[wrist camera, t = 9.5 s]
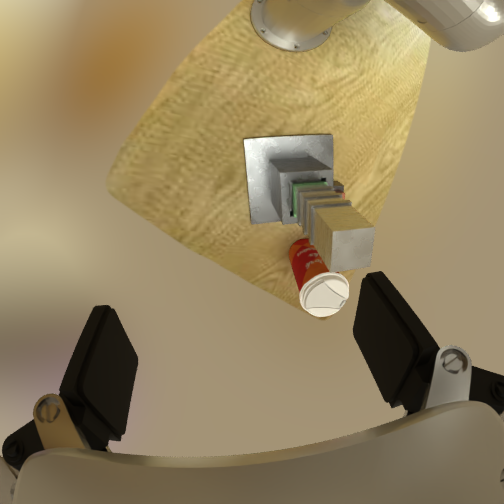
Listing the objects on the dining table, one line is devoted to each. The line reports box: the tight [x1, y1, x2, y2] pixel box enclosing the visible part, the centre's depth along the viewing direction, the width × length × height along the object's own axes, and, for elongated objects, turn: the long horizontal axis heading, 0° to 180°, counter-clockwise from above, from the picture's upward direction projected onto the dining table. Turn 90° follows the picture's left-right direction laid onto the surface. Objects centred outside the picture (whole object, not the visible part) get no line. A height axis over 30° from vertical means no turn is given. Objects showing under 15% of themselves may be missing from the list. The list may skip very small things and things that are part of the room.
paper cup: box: [289, 239, 349, 317], centre depth 46 cm, size 8×8×14 cm
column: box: [289, 178, 375, 273], centre depth 31 cm, size 4×4×18 cm
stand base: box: [243, 134, 345, 225], centre depth 40 cm, size 14×14×11 cm
